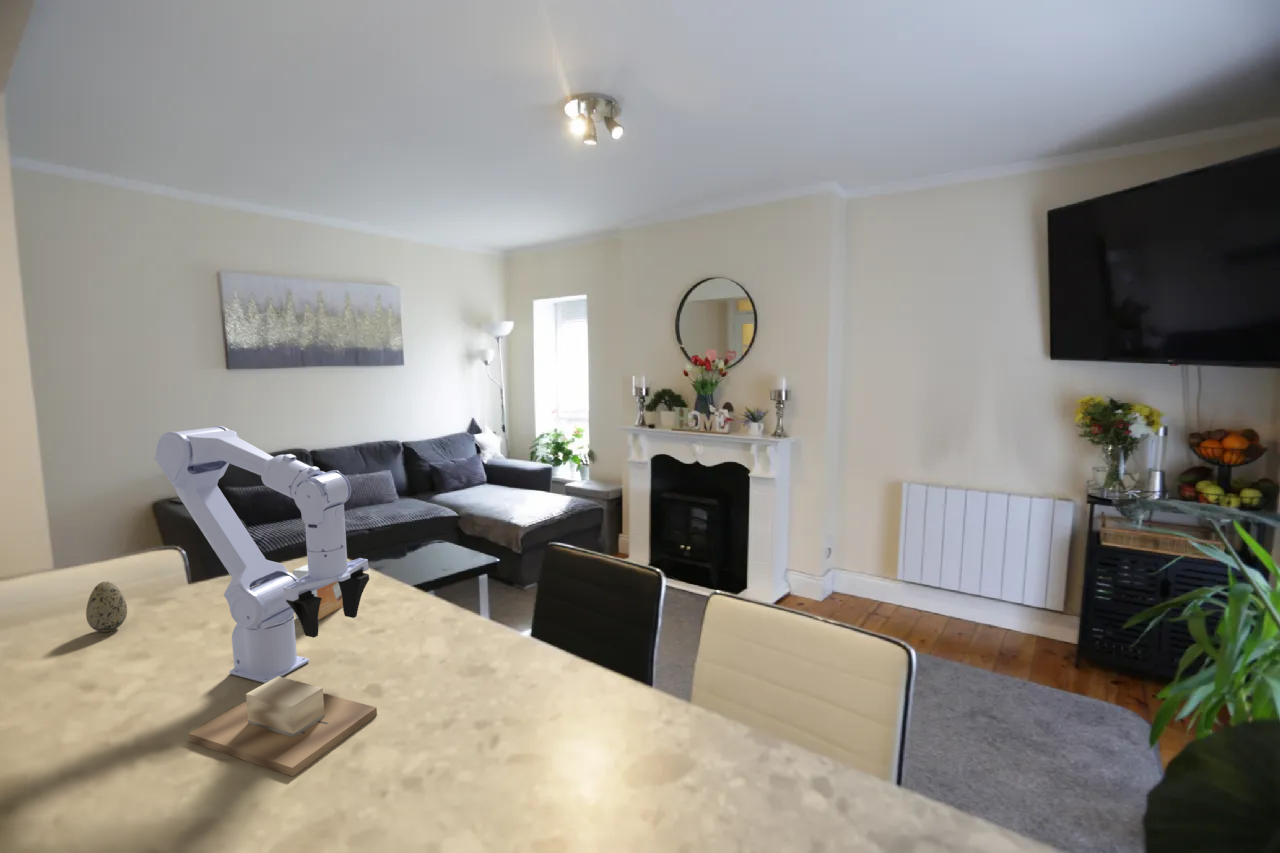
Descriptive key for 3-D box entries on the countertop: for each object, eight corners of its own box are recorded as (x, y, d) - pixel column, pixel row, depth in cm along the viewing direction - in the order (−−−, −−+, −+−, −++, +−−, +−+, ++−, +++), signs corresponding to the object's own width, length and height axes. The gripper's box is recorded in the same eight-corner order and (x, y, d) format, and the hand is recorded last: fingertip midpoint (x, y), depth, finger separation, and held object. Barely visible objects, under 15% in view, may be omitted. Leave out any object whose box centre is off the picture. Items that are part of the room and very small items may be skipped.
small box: (318, 621, 120) (315, 571, 119) (294, 619, 121) (291, 569, 120) (345, 605, 128) (342, 558, 126) (323, 603, 129) (320, 557, 127)
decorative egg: (88, 630, 116) (83, 581, 115) (128, 621, 120) (123, 574, 119) (88, 640, 112) (82, 590, 111) (129, 631, 116) (124, 582, 115)
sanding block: (248, 723, 84) (245, 693, 84) (280, 704, 89) (278, 676, 88) (293, 737, 81) (291, 706, 81) (324, 716, 86) (322, 687, 85)
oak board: (189, 741, 82) (188, 733, 82) (281, 688, 95) (280, 681, 95) (293, 776, 75) (292, 767, 75) (376, 714, 88) (376, 707, 88)
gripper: (304, 564, 88) (310, 650, 90) (379, 537, 101) (383, 612, 103) (271, 558, 91) (278, 641, 92) (349, 532, 104) (353, 605, 106)
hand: (331, 625), depth 98 cm, fingers open, 7 cm apart
